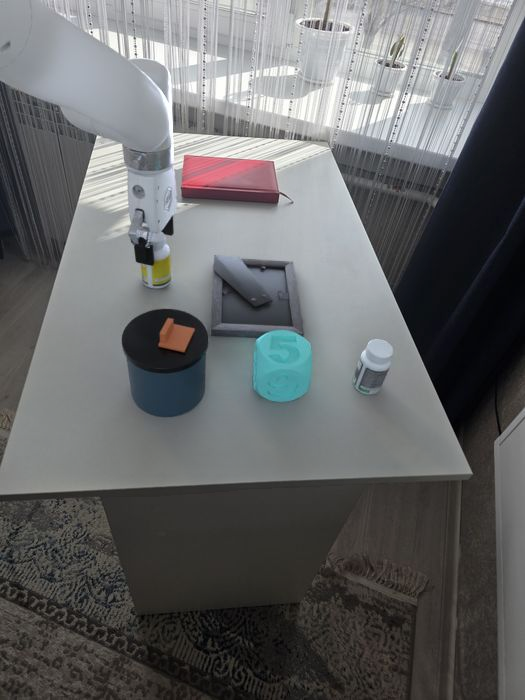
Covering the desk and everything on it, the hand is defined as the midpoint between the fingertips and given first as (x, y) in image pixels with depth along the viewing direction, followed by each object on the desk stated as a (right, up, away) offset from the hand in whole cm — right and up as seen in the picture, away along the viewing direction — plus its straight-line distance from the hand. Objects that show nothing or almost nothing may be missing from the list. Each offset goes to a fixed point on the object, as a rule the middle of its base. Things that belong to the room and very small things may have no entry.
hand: (155, 247), depth 84 cm
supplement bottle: (-1, -5, +5) cm, 7 cm away
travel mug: (+5, -24, -12) cm, 28 cm away
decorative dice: (+22, -24, -9) cm, 33 cm away
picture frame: (+18, -9, +4) cm, 20 cm away
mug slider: (+8, -17, -21) cm, 28 cm away
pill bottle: (+36, -24, -7) cm, 44 cm away
